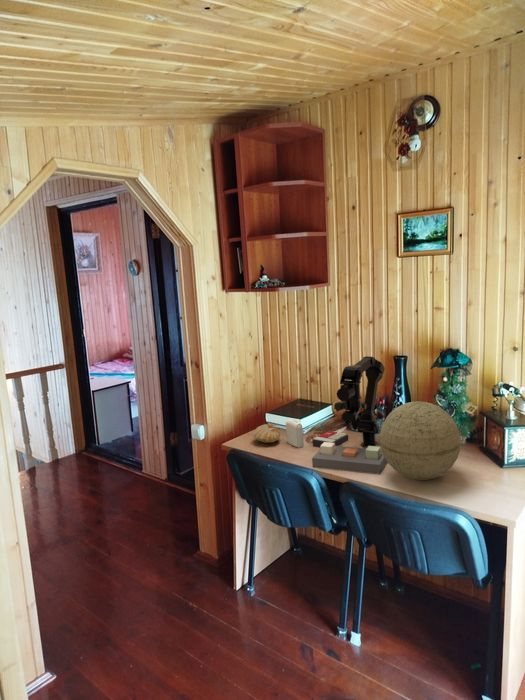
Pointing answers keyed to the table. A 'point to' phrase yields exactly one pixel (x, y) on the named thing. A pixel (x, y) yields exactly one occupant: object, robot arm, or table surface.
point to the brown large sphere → (420, 440)
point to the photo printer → (294, 433)
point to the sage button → (373, 452)
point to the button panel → (349, 461)
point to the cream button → (327, 448)
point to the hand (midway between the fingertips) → (355, 429)
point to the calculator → (330, 438)
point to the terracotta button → (350, 452)
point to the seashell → (267, 433)
